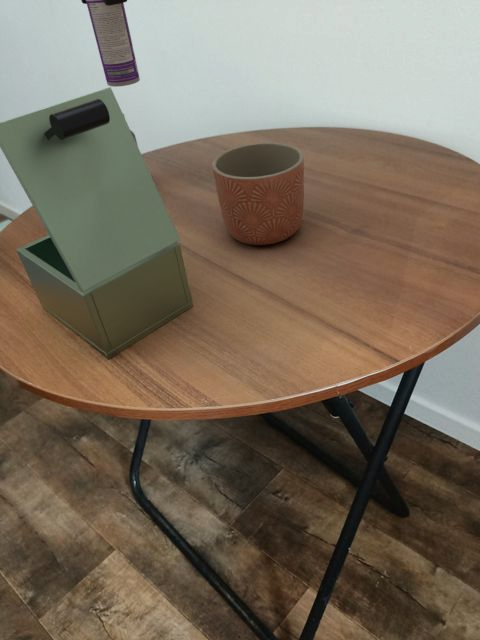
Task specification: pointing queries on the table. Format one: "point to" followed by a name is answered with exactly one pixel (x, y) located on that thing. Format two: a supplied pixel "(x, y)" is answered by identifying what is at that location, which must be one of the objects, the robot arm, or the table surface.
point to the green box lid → (88, 185)
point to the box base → (110, 296)
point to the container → (113, 42)
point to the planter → (260, 191)
